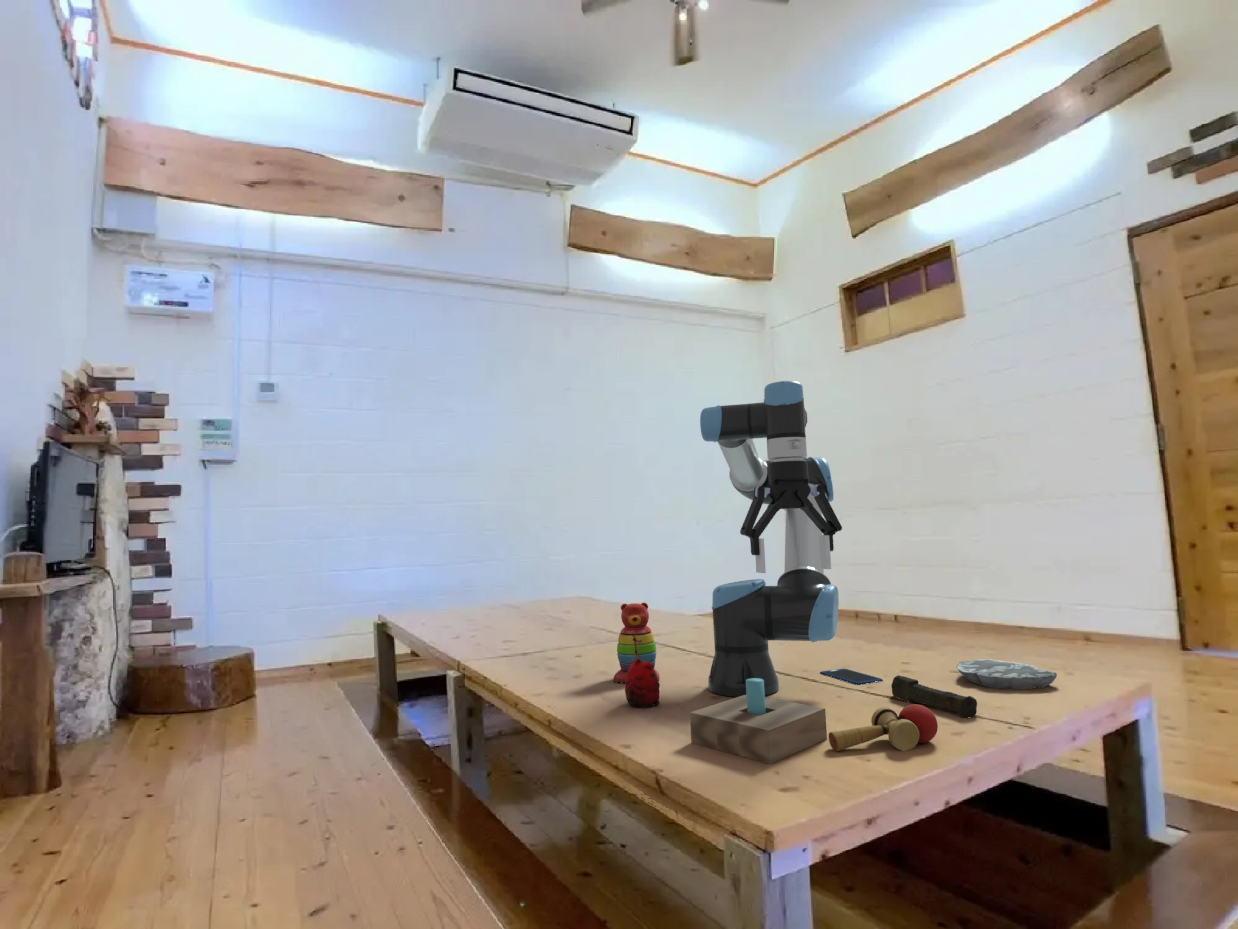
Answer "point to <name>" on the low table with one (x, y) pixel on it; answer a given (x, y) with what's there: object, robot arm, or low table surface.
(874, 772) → the low table surface
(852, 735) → the kendama
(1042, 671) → the brain slice
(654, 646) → the stacking bear
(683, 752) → the low table surface
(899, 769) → the low table surface
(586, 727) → the low table surface
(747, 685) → the peg
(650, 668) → the red clay folk toy
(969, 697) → the hand tool
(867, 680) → the cell phone
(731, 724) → the hole block
